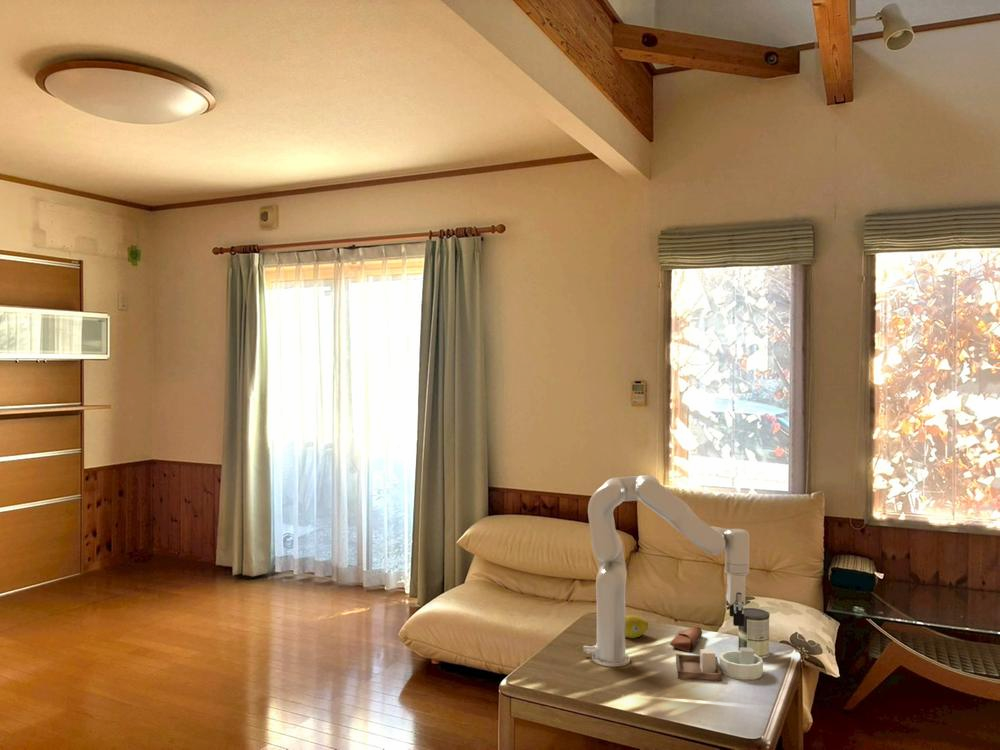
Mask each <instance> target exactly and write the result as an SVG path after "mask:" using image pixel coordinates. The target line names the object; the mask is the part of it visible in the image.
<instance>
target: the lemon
mask: <svg viewBox="0 0 1000 750" xmlns="http://www.w3.org/2000/svg"><path fill="white" fill-rule="evenodd" d="M648 628H649V622H648V621H646V620H644V619H643V618H642V617H640V616H638V615H632V614H631V615H625V638H626V639H627V638H628V639H637V637H638V638H640V637H641V636H643V635H644V634H645V632H646V631H647V630H648Z"/></svg>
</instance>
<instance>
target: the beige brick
mask: <svg viewBox="0 0 1000 750" xmlns="http://www.w3.org/2000/svg"><path fill="white" fill-rule="evenodd" d="M699 656H700V669H701V670H702V672H715V657H716V652H715V651H714V649H705V648H704V649H702V648H701V649H699Z"/></svg>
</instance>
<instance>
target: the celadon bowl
mask: <svg viewBox="0 0 1000 750" xmlns="http://www.w3.org/2000/svg"><path fill="white" fill-rule="evenodd" d="M718 663H719V667H720V670H721V674H722V675H724V676H725V677H728V678H731V679H736V680H740V681H741V680H742V681H752V680H759V679H760V678H762V676H763V673H764V661H763V658H761V657H759V656H757V655H755V654H754V664H749V665H746V664H740V651H738V650H729V651H723V652H722V653H720V654H719V660H718Z"/></svg>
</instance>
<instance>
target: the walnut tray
mask: <svg viewBox="0 0 1000 750" xmlns="http://www.w3.org/2000/svg"><path fill="white" fill-rule="evenodd" d="M675 664H676V672H677V679H680V680H681V679H682V680H692V681H694V680H695V681H708V682H719V683H720V682H723V679H722V678H723V677H722V675H723V674H722V673H721V670H720V666H719V660H718V656H715V672H702V670H701V669H700V655H699V654H698V655H696V654H680V653H675Z"/></svg>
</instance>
